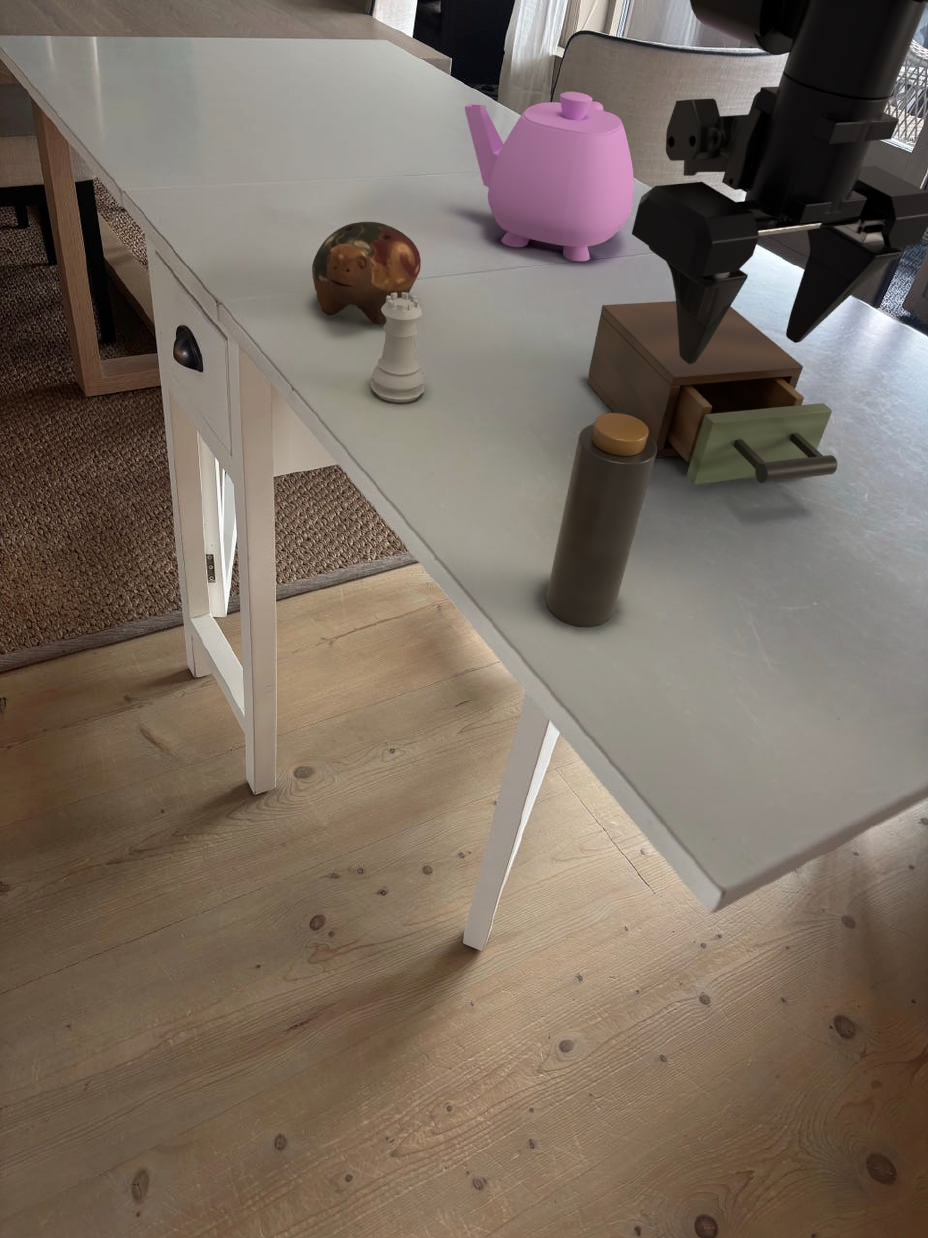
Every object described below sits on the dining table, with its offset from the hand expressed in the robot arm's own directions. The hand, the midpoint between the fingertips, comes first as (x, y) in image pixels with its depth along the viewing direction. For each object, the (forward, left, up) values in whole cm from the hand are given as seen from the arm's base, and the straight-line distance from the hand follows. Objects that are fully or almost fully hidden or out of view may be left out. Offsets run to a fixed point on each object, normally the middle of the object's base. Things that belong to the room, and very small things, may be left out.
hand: (741, 349), depth 61 cm
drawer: (+4, -8, -12) cm, 15 cm away
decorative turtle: (+40, +4, -13) cm, 42 cm away
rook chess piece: (+25, +10, -13) cm, 30 cm away
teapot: (+50, -26, -13) cm, 58 cm away
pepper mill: (-4, +14, -13) cm, 19 cm away
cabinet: (+11, -10, -13) cm, 20 cm away
